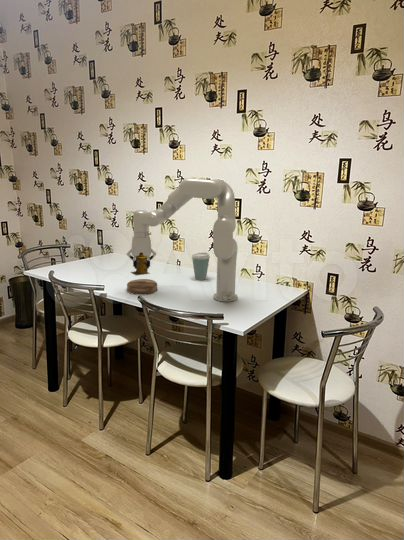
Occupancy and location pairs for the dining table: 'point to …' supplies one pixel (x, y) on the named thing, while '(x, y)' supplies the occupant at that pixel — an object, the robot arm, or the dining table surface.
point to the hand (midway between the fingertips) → (141, 267)
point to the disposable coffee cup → (200, 265)
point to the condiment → (141, 265)
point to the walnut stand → (142, 286)
